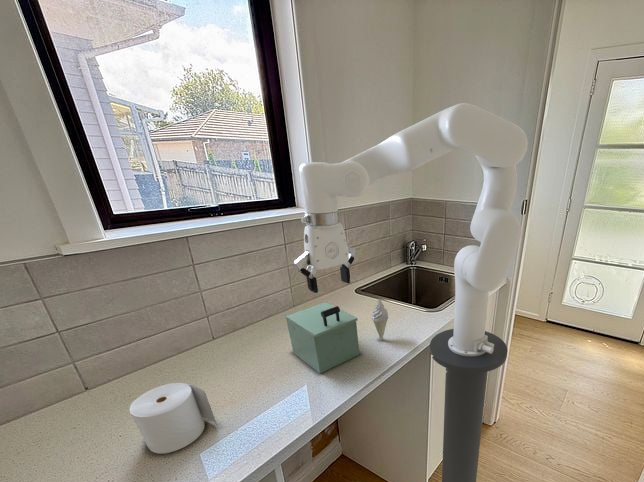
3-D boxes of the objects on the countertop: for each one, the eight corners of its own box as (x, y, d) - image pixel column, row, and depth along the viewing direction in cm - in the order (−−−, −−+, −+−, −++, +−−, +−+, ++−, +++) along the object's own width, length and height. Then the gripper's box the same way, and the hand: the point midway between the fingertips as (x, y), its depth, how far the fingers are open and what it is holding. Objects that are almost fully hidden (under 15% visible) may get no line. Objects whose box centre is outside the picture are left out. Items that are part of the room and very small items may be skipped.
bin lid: (357, 320, 95) (356, 304, 93) (315, 337, 87) (312, 320, 84) (326, 304, 106) (324, 289, 103) (286, 318, 97) (282, 302, 95)
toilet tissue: (141, 437, 73) (122, 401, 68) (200, 407, 81) (187, 373, 76) (157, 463, 66) (137, 425, 62) (219, 428, 74) (206, 392, 70)
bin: (359, 354, 101) (356, 319, 96) (320, 373, 92) (313, 336, 87) (331, 336, 111) (326, 304, 106) (293, 352, 102) (286, 318, 97)
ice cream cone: (389, 343, 106) (387, 300, 100) (373, 344, 106) (370, 301, 99) (389, 336, 111) (387, 294, 104) (373, 336, 110) (370, 294, 104)
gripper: (296, 226, 72) (307, 299, 79) (361, 216, 83) (365, 282, 90) (280, 222, 77) (292, 291, 84) (343, 213, 87) (349, 275, 95)
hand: (330, 286), depth 87 cm, fingers open, 9 cm apart
